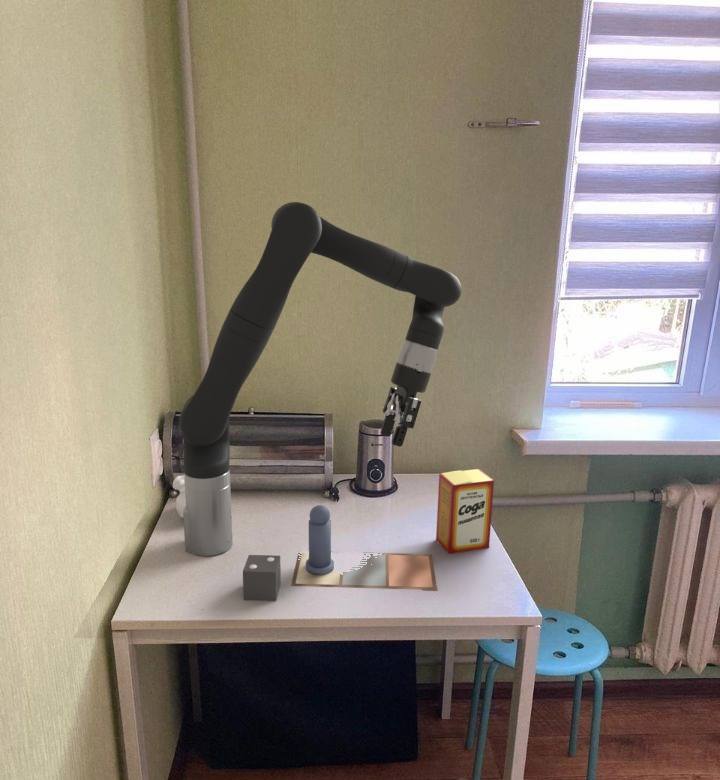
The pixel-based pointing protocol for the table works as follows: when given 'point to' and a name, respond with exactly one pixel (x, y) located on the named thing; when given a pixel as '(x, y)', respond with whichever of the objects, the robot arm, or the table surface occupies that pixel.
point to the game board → (375, 573)
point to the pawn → (319, 542)
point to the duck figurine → (181, 500)
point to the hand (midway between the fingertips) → (390, 440)
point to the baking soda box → (464, 510)
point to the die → (261, 577)
